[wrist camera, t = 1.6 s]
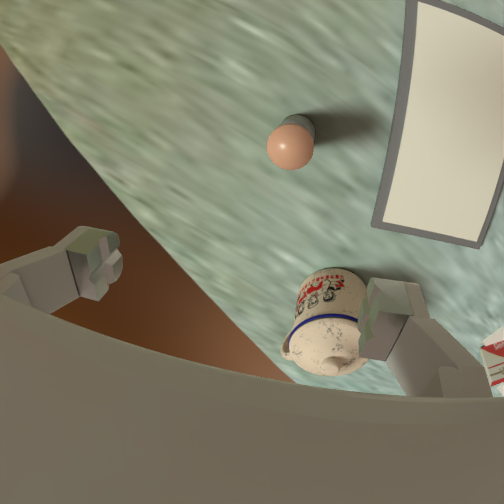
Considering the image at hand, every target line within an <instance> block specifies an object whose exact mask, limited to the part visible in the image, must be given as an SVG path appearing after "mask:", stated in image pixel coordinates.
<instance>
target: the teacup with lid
mask: <svg viewBox="0 0 504 504" xmlns="http://www.w3.org/2000/svg"><path fill="white" fill-rule="evenodd" d="M366 297H367V289H366V286H365V284H364V283H363V281H362V280H361V279H360V278H359V277H358V276H357V275H355V274H354V273H352V272H349V271H347V270H343V269H337V268H330V269H323V270H320V271H317V272H315V273H313V274H312V275H310V276H309V277H308V278H307V279H305V281H304V282H303V283H302V285H301V287H300V289H299V293H298V299H297V305H296V312H295V318H294V324H293V329H292V330H291V331H290V332H289V333H288V334H287V336H286V337H285V339H284V341H283V343H282V346H281V355H282V356H283V357H284V358H285V359H287V360H294V361H295V362H296V363H297V364H298V365H299V366H300V367H301V368H303V369H304V370H306V371H308V372H311V373H314V374H317V375H323V376H339V375H344V374H348V373H351V372H353V371H355V370H357V369H359V368H360V367H362V366H363V365H364V364H365V363H366V362H367V361H368V360H369V359H367V358H361V357H359V345H358V340H359V338H360V335H361V333H360V332H359V331H358V315H359V310H360V306H361V303H362V300H363V299H364V298H366Z"/></svg>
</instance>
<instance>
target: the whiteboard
mask: <svg viewBox="0 0 504 504" xmlns="http://www.w3.org/2000/svg"><path fill="white" fill-rule="evenodd" d="M503 181H504V28H502V27H500V26H498V25H496V24H494V23H492V22H490V21H488V20H486V19H484V18H482V17H479V16H477V15H475V14H473V13H470V12H468V11H466V10H463V9H461V8H458V7H456V6H453V5H450V4H448V3H445V2H442V1H440V0H406V6H405V23H404V35H403V46H402V56H401V65H400V74H399V81H398V89H397V96H396V102H395V109H394V115H393V121H392V127H391V133H390V138H389V143H388V149H387V154H386V159H385V164H384V168H383V173H382V178H381V182H380V187H379V191H378V195H377V200H376V204H375V208H374V212H373V216H372V220H371V227H373V228H378V229H384V230H389V231H394V232H399V233H404V234H409V235H414V236H419V237H424V238H429V239H433V240H438V241H443V242H447V243H452V244H457V245H461V246H466V247H470V248H474V249H480V246H481V244H482V241H483V239H484V236H485V234H486V231H487V228H488V226H489V223H490V220H491V218H492V215H493V212H494V209H495V206H496V203H497V200H498V197H499V194H500V191H501V188H502V184H503Z"/></svg>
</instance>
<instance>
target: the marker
mask: <svg viewBox="0 0 504 504" xmlns="http://www.w3.org/2000/svg"><path fill="white" fill-rule="evenodd" d="M314 137H315V127H314V125H313V123H312V121H311V120H310V119H309V118H307V117H306V116H303V115H300V114H294V115H290V116H288V117H287V118H285V119H284V121H283V122H282V123H281V124H280V125H279V126H278V127H277V128H276V129H275V130H274V131H273V132H272V134H271V135H270V137H269V139H268V142H267V152H268V155H269V157H270V159H271V160H272V161H273V162H274V163H275V164H276V165H277V166H279V167H281V168H283V169H287V170H295V169H299V168H301V167H303V166H305V165H306V164H307V163H308V162H309V161H310V159H311V157H312V155H313V149H314Z"/></svg>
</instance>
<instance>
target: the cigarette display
mask: <svg viewBox="0 0 504 504" xmlns="http://www.w3.org/2000/svg"><path fill="white" fill-rule="evenodd" d="M482 343H483V344H484V345H485V347H482V348H481V350H480V354H481V357H482V360H483V363H484V366H485V369H486V372H487V375H488V379H489V382H490V385H491V386H493V385H496V384H499V383H501V385H499V386H498V390H499V391H500V392H501V394H502V395H503V396H504V326H502V327H501V328H500V329H498V330H497V331H496V332H494V333H493V334H492V335H490V336H489V337H487V338H486V339H485V340H483V341H482Z"/></svg>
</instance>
